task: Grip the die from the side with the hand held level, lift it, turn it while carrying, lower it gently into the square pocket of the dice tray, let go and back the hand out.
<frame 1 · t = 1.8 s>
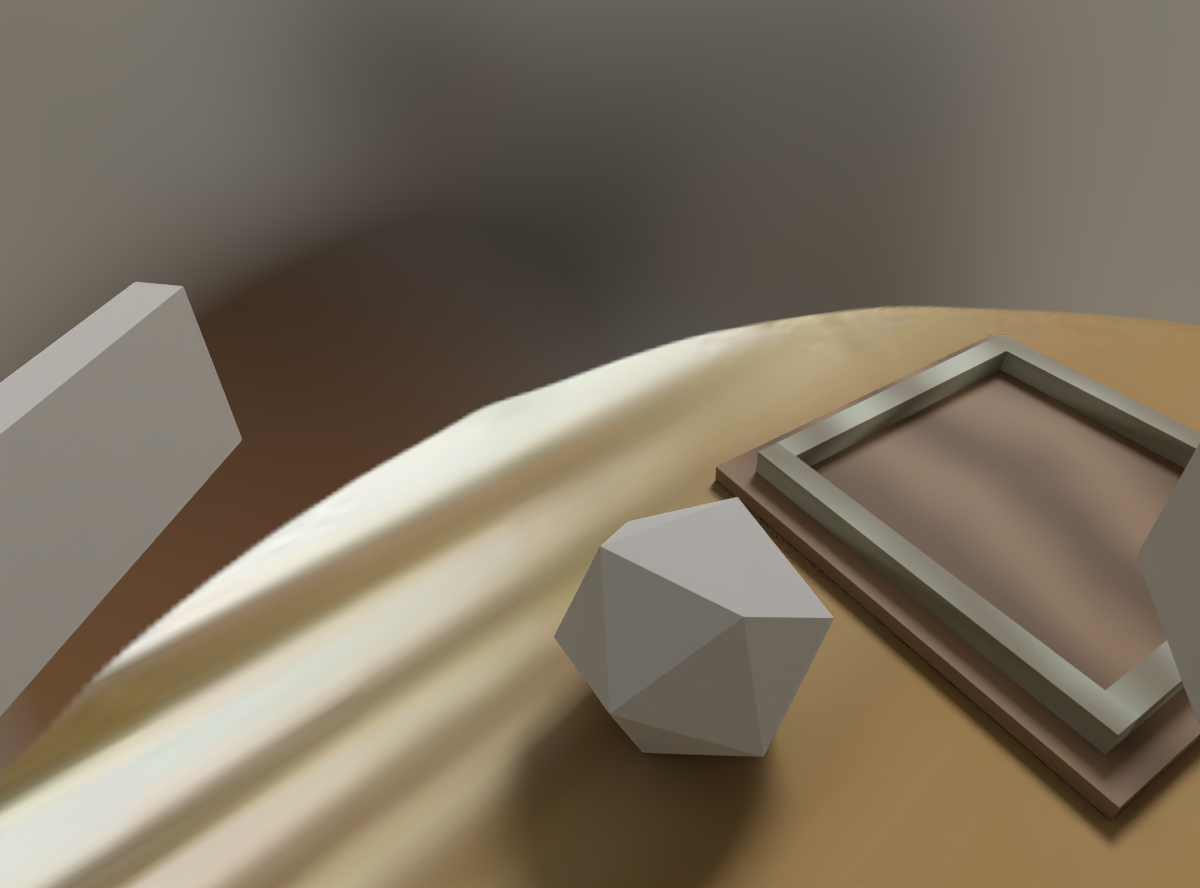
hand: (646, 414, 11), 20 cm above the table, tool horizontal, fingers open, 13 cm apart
die: (685, 696, 31), on the table
dice tray: (1031, 516, 37), on the table
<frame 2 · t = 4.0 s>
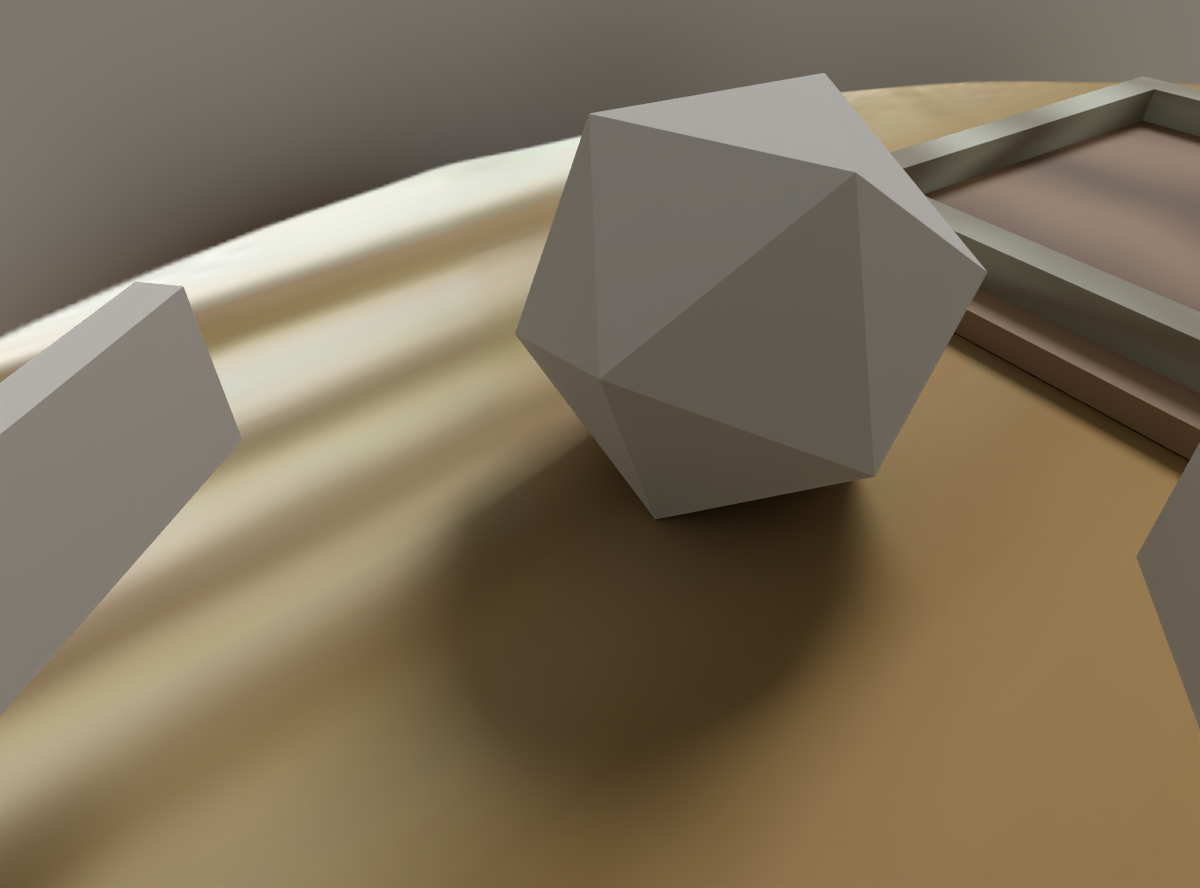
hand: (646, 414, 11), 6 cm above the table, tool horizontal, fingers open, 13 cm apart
die: (723, 453, 20), on the table
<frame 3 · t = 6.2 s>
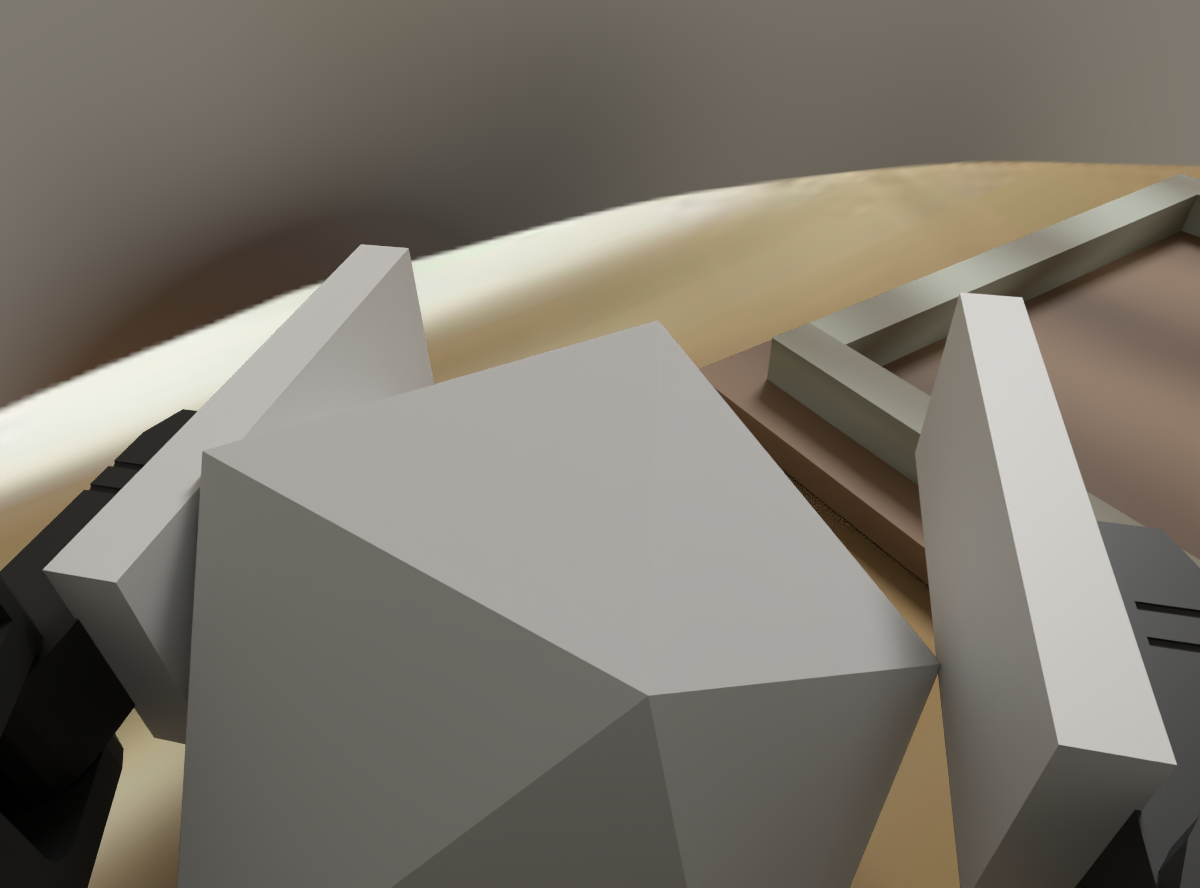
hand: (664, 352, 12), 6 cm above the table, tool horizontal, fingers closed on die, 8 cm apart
die: (553, 845, 13), on the table, touching gripper
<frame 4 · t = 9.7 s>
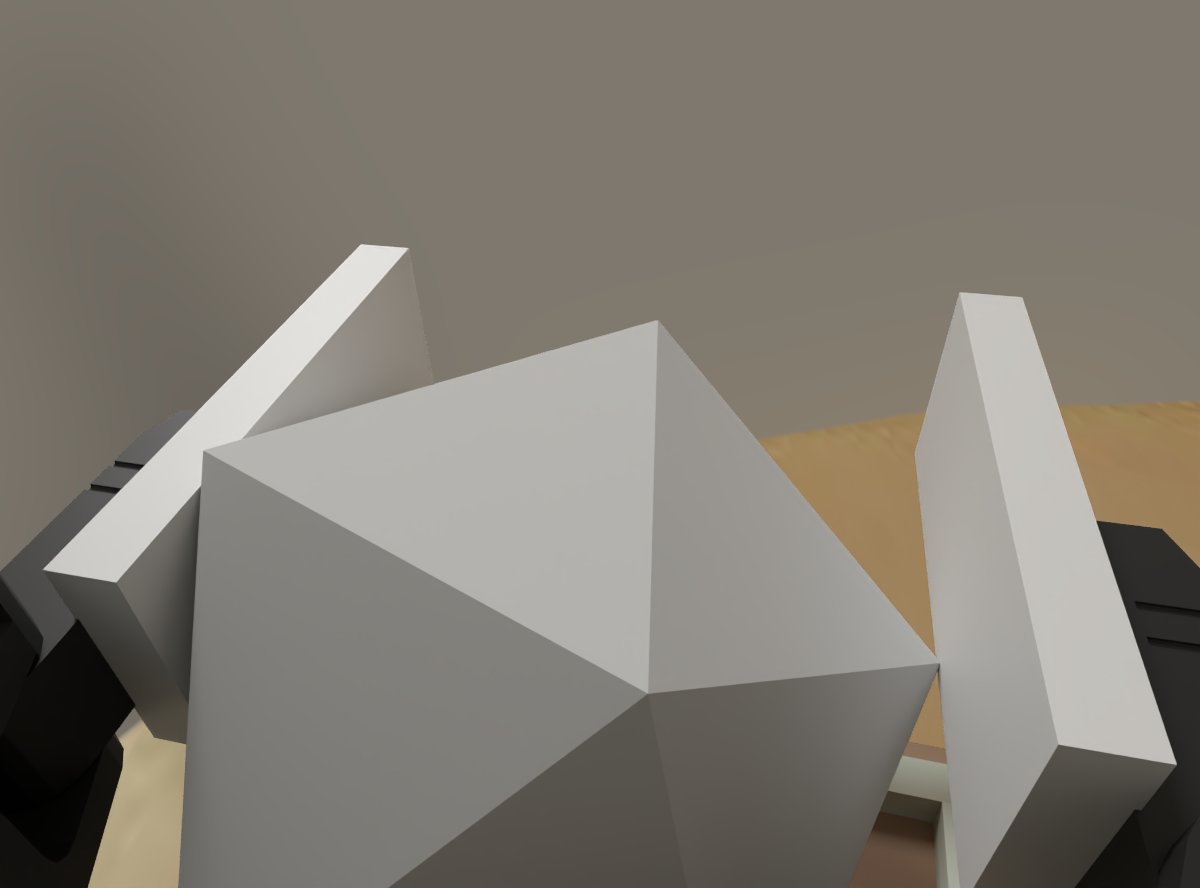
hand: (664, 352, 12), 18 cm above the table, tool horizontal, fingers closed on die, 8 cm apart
die: (553, 844, 13), point 12 cm above the table, touching gripper
when the fingers open (7 cm above the table, at t = 13.0 s): die stays where it is, resting on dice tray.
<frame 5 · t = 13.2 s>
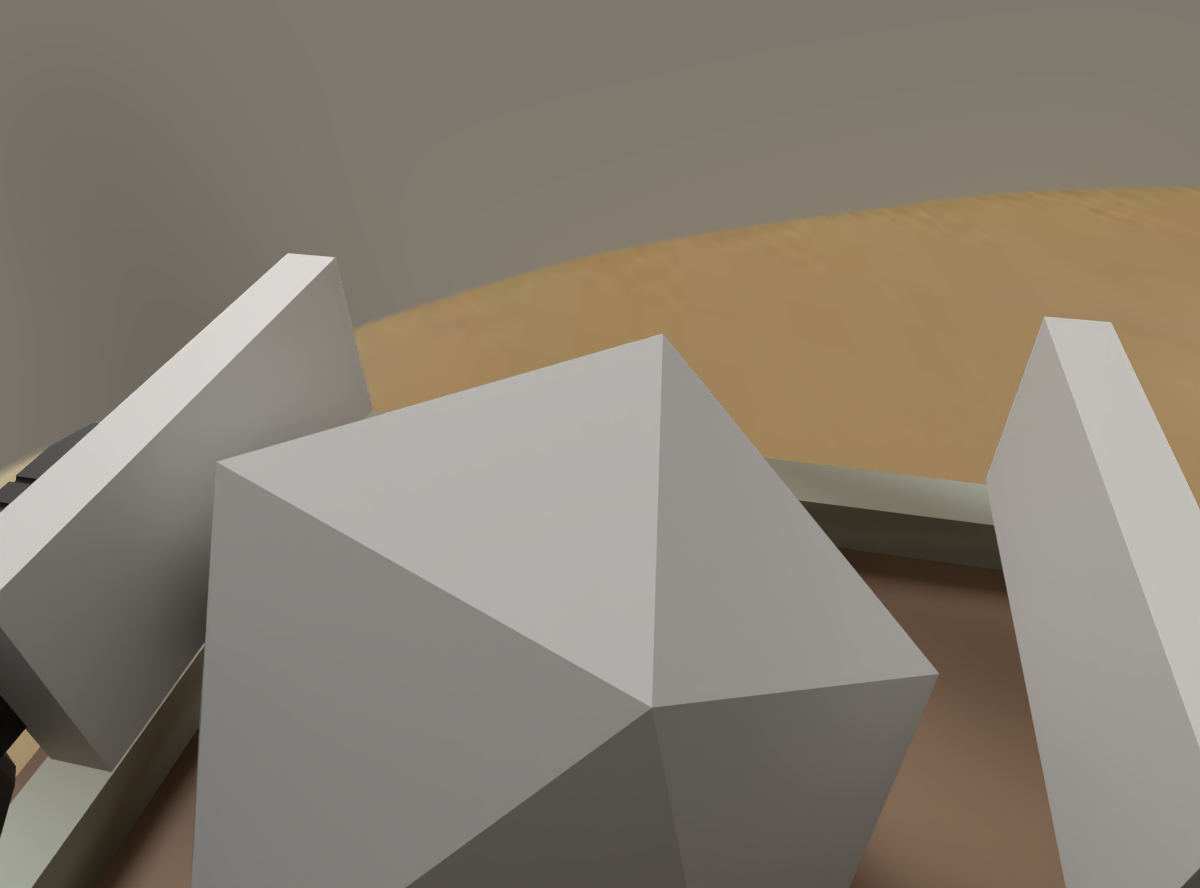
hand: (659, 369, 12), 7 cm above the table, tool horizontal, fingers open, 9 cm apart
die: (555, 847, 13), point 1 cm above the table, touching dice tray
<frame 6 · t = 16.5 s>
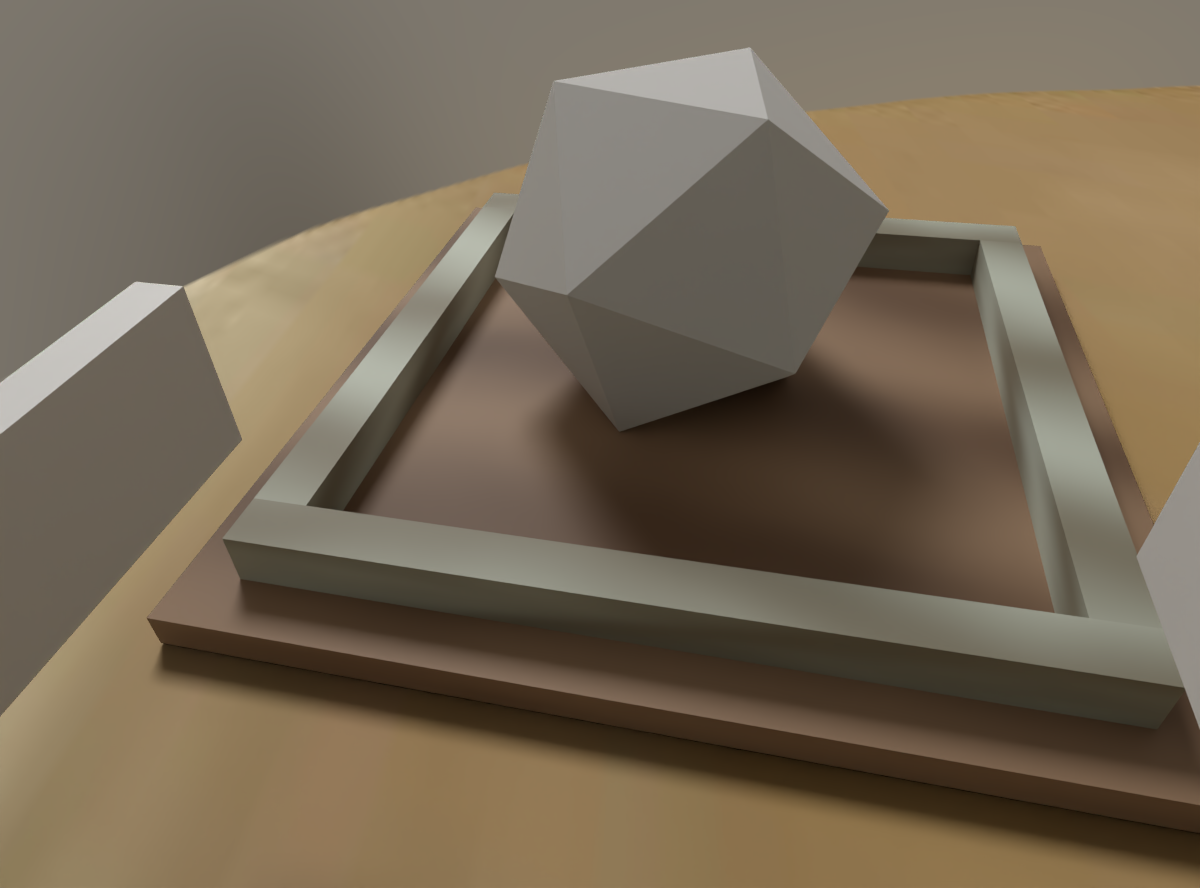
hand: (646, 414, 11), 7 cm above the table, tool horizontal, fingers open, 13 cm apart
die: (677, 381, 23), point 1 cm above the table, touching dice tray
dice tray: (705, 408, 23), on the table
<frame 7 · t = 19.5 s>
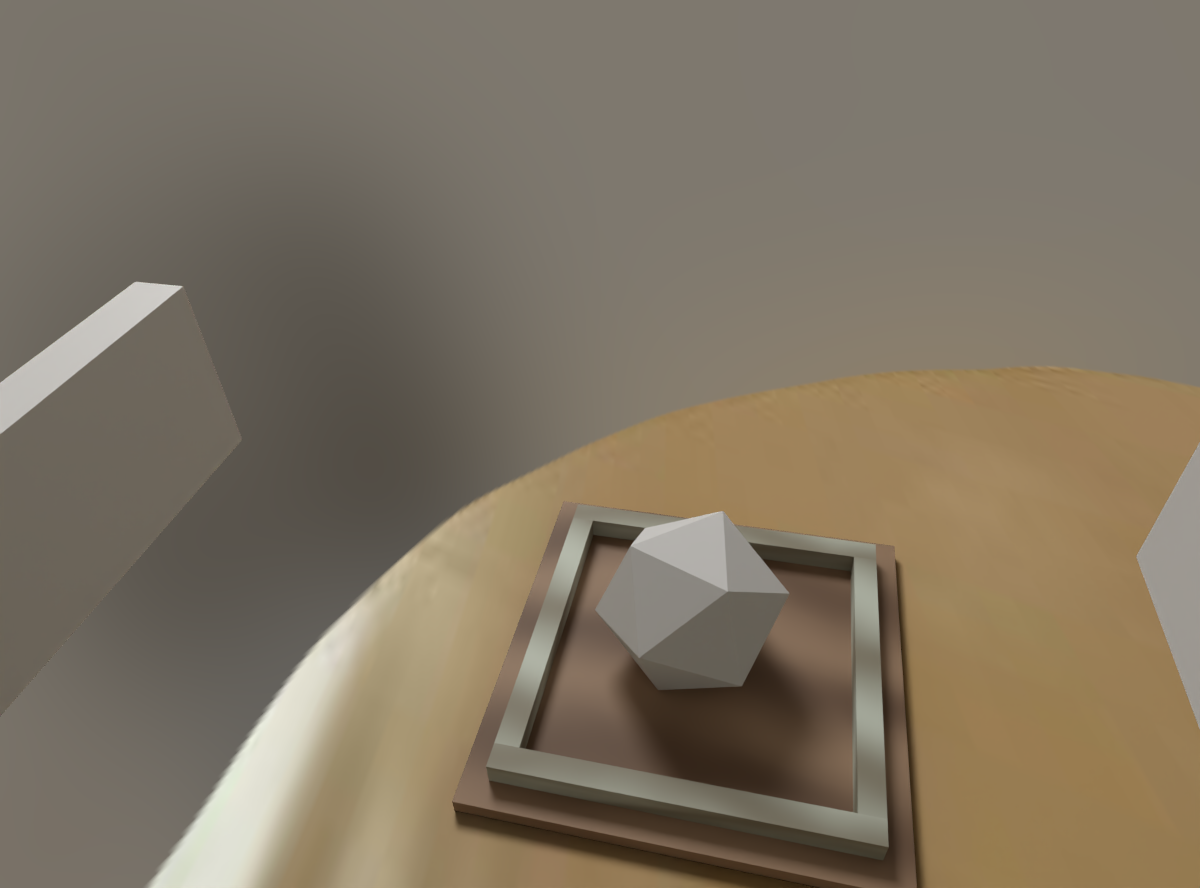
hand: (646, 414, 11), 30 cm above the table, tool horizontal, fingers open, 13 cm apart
die: (686, 652, 44), point 1 cm above the table, touching dice tray
dice tray: (701, 666, 44), on the table
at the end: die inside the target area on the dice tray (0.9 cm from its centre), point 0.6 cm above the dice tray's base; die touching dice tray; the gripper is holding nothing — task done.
